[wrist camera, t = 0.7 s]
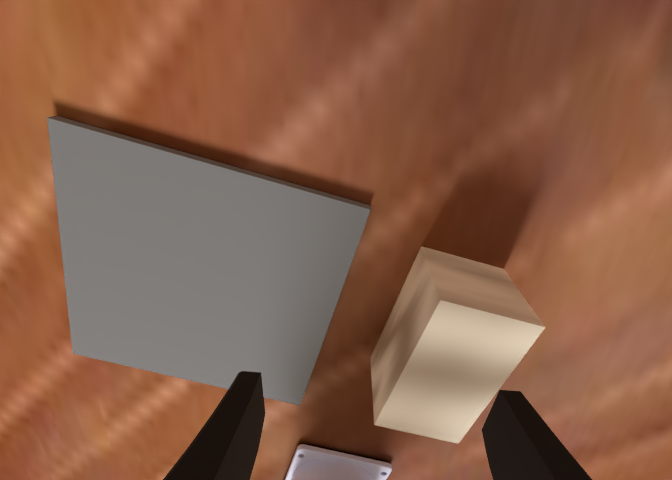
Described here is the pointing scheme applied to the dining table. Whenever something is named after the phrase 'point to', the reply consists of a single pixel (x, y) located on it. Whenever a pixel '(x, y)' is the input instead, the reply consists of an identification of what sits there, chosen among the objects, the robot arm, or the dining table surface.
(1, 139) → the dining table surface
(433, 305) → the pale wooden block
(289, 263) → the rubber mat
